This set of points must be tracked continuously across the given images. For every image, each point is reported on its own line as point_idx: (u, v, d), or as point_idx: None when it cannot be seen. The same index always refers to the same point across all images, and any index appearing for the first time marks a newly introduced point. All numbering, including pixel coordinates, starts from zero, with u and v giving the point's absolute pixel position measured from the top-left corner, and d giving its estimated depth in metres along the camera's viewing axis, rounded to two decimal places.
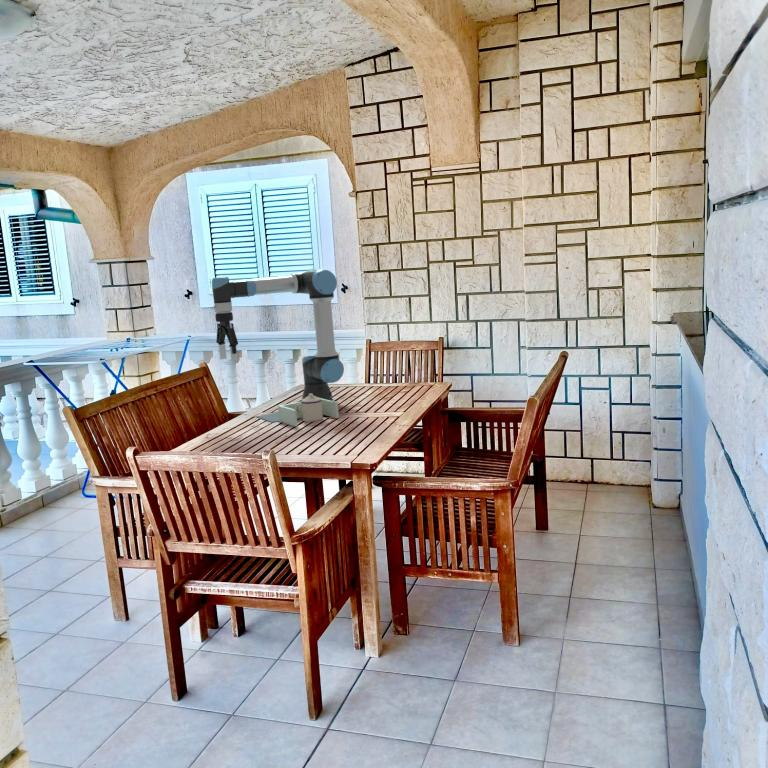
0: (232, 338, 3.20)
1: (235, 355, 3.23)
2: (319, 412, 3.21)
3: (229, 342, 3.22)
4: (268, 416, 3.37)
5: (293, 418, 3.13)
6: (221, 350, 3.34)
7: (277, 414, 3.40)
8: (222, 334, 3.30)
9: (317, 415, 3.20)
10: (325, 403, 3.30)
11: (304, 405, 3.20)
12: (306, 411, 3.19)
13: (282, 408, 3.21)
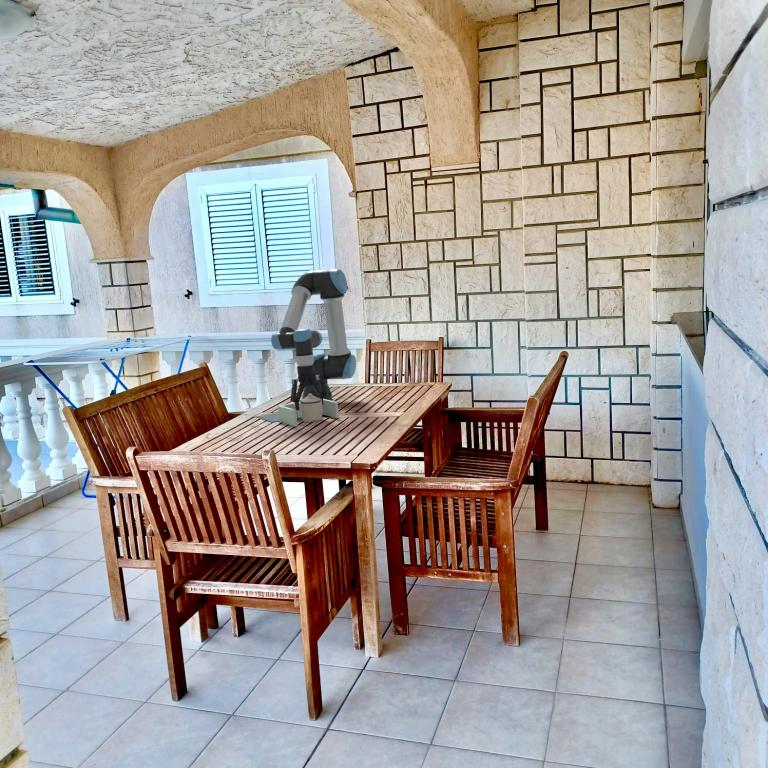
0: (291, 395, 3.19)
1: (299, 412, 3.20)
2: (318, 412, 3.20)
3: None
4: (268, 416, 3.37)
5: (293, 418, 3.13)
6: None
7: (277, 414, 3.40)
8: (312, 386, 3.24)
9: (316, 415, 3.20)
10: (325, 403, 3.30)
11: (303, 405, 3.19)
12: (305, 411, 3.19)
13: (282, 408, 3.21)
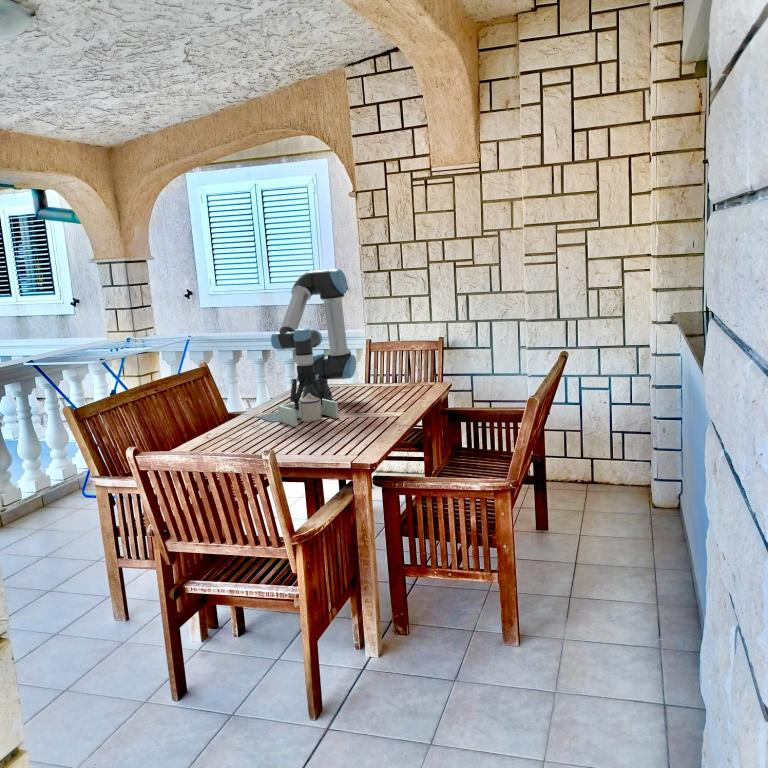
0: (291, 394, 3.19)
1: (299, 411, 3.20)
2: (317, 412, 3.20)
3: None
4: (268, 416, 3.37)
5: (293, 418, 3.13)
6: None
7: (277, 414, 3.40)
8: (312, 386, 3.24)
9: (315, 415, 3.20)
10: (325, 403, 3.30)
11: (302, 405, 3.19)
12: (304, 411, 3.19)
13: (282, 408, 3.21)
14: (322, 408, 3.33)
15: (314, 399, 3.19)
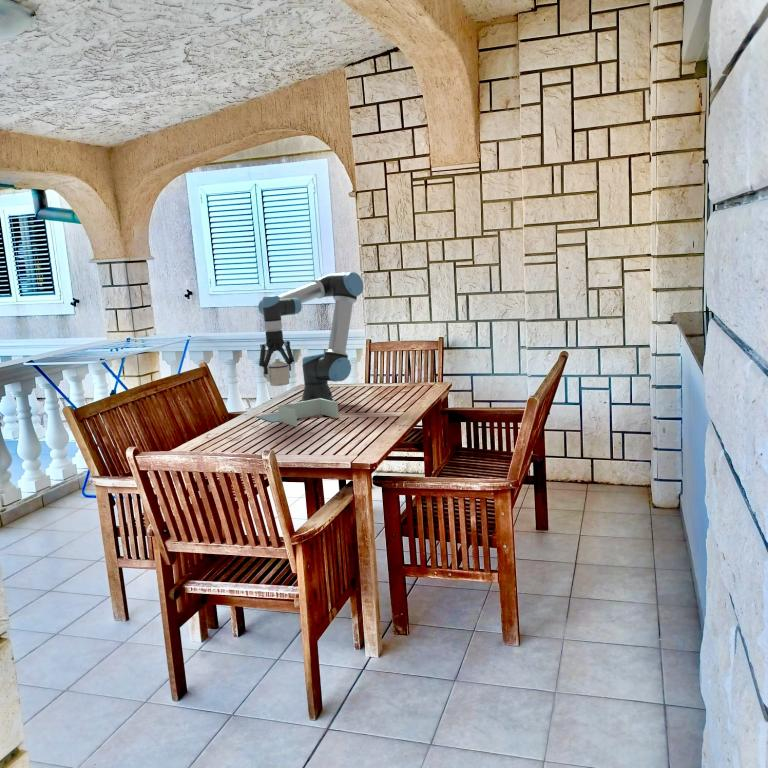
0: (260, 359, 3.29)
1: (267, 376, 3.30)
2: (285, 377, 3.30)
3: None
4: (268, 416, 3.37)
5: (293, 418, 3.13)
6: None
7: (277, 414, 3.40)
8: (280, 352, 3.34)
9: (283, 379, 3.29)
10: (325, 403, 3.30)
11: (271, 370, 3.29)
12: (272, 375, 3.29)
13: (282, 408, 3.21)
14: (322, 408, 3.33)
15: (282, 364, 3.29)
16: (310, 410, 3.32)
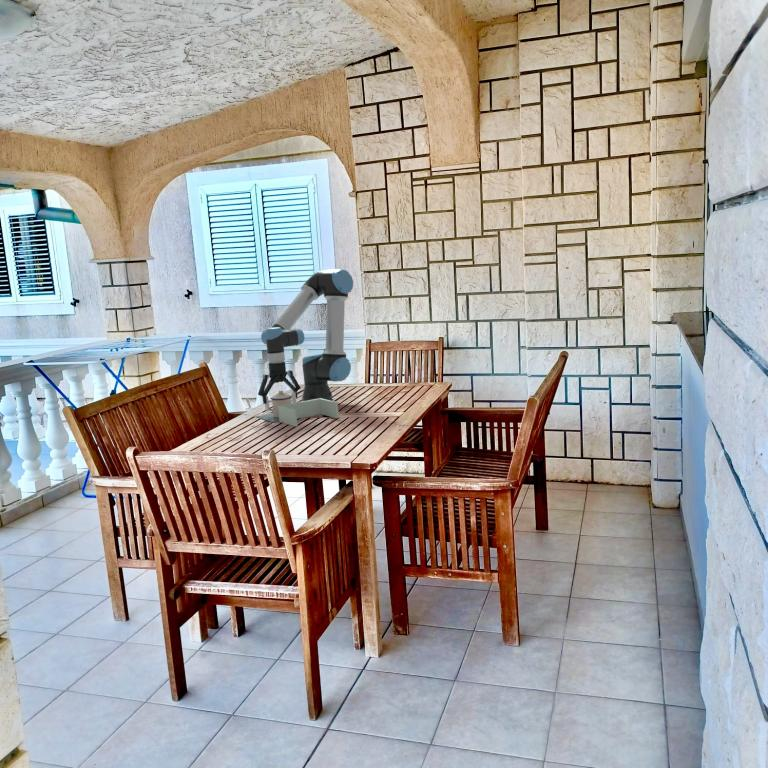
0: (260, 389, 3.30)
1: (266, 405, 3.31)
2: None
3: None
4: (268, 416, 3.37)
5: (293, 418, 3.13)
6: (292, 397, 3.39)
7: None
8: (285, 382, 3.36)
9: None
10: (325, 403, 3.30)
11: (274, 402, 3.32)
12: (276, 407, 3.31)
13: (282, 408, 3.21)
14: (322, 408, 3.33)
15: (285, 396, 3.32)
16: (310, 410, 3.32)
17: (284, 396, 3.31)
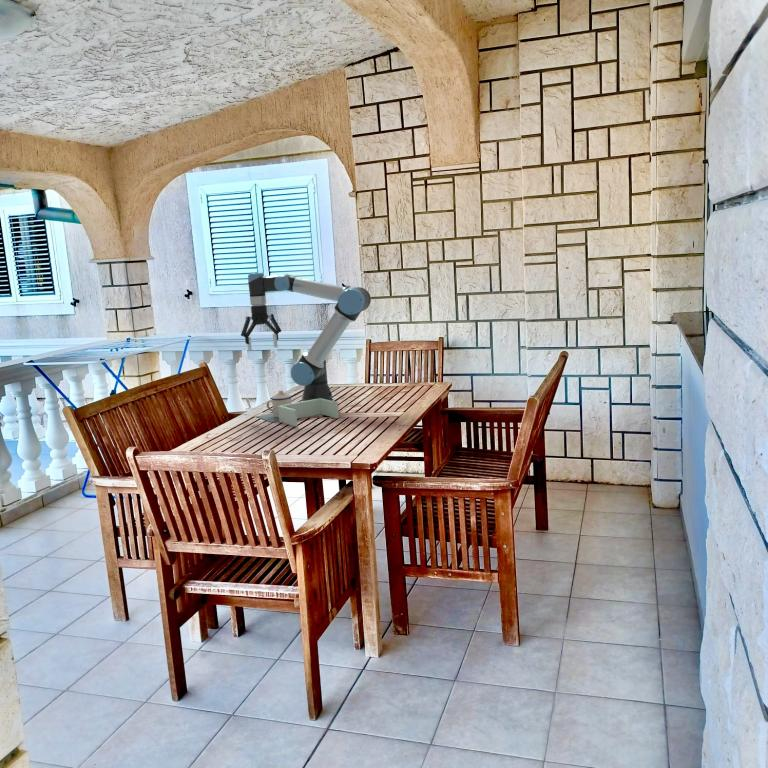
0: (242, 330, 3.53)
1: (249, 345, 3.54)
2: None
3: None
4: (268, 416, 3.37)
5: (293, 418, 3.13)
6: (273, 339, 3.62)
7: None
8: (266, 324, 3.59)
9: None
10: (325, 403, 3.30)
11: (274, 402, 3.32)
12: (276, 407, 3.31)
13: (282, 408, 3.21)
14: (322, 408, 3.33)
15: (285, 396, 3.32)
16: (310, 410, 3.32)
17: (284, 396, 3.31)
